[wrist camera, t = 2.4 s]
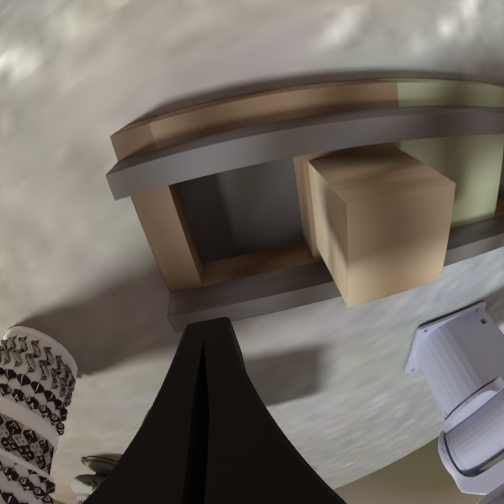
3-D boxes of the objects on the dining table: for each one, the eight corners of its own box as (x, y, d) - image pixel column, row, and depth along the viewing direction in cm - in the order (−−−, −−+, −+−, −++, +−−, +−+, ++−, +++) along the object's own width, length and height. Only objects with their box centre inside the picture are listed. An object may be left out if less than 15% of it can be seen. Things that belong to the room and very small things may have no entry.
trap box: (538, 91, 15) (576, 105, 11) (524, 213, 21) (554, 237, 17) (123, 126, 15) (95, 147, 11) (185, 296, 21) (182, 346, 18)
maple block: (396, 147, 15) (455, 183, 10) (395, 228, 17) (440, 279, 13) (307, 161, 15) (346, 203, 10) (316, 246, 17) (347, 307, 13)
